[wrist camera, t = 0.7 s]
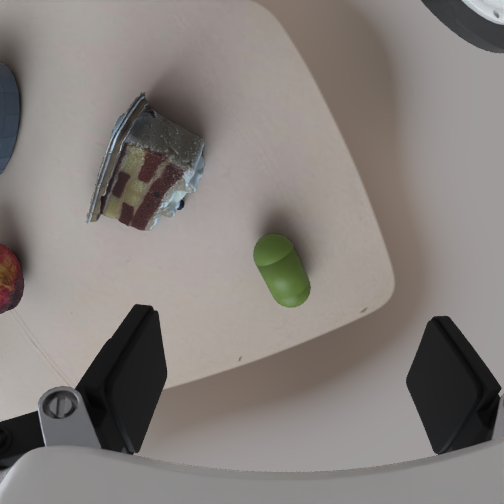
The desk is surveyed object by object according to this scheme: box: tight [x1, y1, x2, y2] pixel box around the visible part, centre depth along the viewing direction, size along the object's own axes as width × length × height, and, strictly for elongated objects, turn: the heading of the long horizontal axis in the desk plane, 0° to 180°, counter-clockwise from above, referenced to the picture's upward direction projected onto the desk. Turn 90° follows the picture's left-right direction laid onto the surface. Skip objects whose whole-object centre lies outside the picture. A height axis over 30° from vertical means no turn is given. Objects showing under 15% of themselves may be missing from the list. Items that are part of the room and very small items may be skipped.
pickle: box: [253, 233, 311, 307], centre depth 25 cm, size 6×3×3 cm, turn 26°
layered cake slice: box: [85, 92, 205, 231], centre depth 22 cm, size 10×7×12 cm
